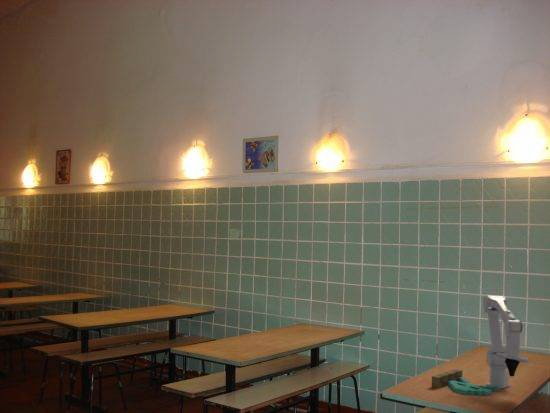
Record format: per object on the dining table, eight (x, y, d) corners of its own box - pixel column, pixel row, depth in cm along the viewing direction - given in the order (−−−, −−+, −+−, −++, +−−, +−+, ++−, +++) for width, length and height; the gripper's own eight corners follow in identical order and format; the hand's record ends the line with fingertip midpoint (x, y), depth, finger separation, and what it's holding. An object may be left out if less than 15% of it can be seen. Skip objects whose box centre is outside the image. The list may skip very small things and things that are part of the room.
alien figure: (460, 381, 279) (440, 388, 265) (460, 377, 279) (440, 383, 265) (499, 391, 264) (480, 399, 250) (500, 386, 264) (480, 394, 250)
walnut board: (456, 378, 282) (456, 368, 282) (462, 380, 280) (462, 370, 280) (431, 386, 265) (431, 376, 265) (437, 388, 263) (437, 377, 263)
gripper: (493, 344, 259) (492, 373, 258) (525, 350, 248) (524, 381, 248) (500, 342, 264) (499, 371, 263) (531, 348, 253) (530, 378, 253)
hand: (511, 375), depth 256 cm, fingers closed
